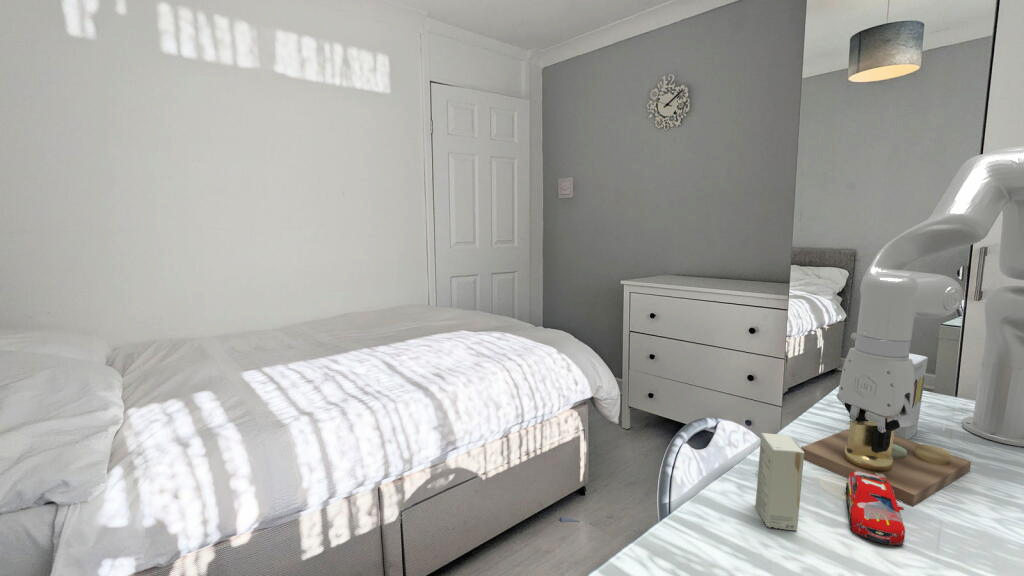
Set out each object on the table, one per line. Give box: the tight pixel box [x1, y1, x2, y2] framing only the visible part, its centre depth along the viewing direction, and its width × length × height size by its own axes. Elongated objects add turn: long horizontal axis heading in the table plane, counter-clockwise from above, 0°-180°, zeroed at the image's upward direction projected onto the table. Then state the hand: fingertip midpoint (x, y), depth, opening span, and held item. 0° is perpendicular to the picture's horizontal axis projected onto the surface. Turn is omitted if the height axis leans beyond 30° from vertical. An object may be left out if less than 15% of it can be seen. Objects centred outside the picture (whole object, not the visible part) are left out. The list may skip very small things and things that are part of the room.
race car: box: [845, 471, 906, 546], centre depth 76 cm, size 16×7×5 cm, turn 148°
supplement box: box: [866, 352, 929, 440], centre depth 105 cm, size 10×9×17 cm
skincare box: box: [755, 432, 805, 531], centre depth 74 cm, size 6×4×12 cm
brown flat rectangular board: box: [800, 428, 972, 507], centre depth 91 cm, size 22×18×4 cm
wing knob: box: [844, 419, 895, 471], centre depth 88 cm, size 7×7×7 cm
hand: (868, 445), depth 88 cm, fingers closed on wing knob, 3 cm apart
